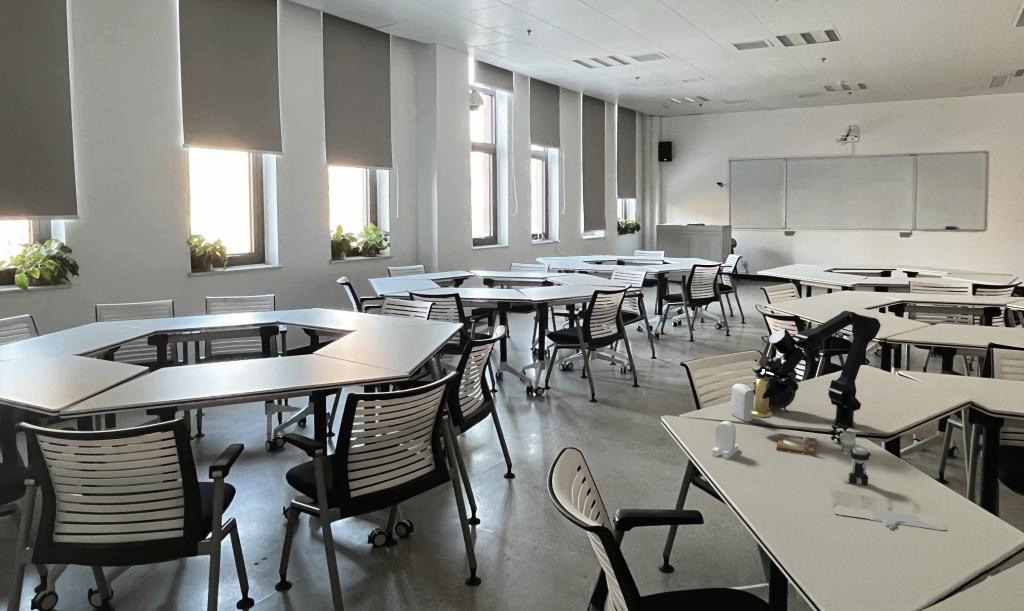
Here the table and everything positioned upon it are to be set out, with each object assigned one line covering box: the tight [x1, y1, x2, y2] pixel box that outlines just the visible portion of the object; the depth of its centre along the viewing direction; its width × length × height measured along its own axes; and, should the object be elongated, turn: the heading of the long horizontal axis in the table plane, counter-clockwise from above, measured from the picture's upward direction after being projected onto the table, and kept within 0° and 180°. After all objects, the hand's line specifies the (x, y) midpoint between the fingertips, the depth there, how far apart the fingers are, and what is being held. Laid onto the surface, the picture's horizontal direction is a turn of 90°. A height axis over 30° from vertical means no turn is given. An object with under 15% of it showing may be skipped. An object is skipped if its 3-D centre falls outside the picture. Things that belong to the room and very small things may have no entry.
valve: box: [828, 423, 857, 455], centre depth 227 cm, size 7×7×12 cm
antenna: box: [848, 506, 944, 531], centre depth 183 cm, size 25×24×1 cm
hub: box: [750, 377, 773, 419], centre depth 241 cm, size 9×7×12 cm
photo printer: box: [730, 383, 755, 422], centre depth 258 cm, size 10×4×12 cm, turn 12°
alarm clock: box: [753, 364, 798, 413], centre depth 265 cm, size 15×7×20 cm, turn 81°
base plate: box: [775, 433, 816, 456], centre depth 229 cm, size 14×11×5 cm
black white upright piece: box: [842, 446, 872, 486], centre depth 199 cm, size 7×5×10 cm
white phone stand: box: [711, 420, 739, 460], centre depth 223 cm, size 5×10×10 cm, turn 145°
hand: (758, 396), depth 239 cm, fingers closed on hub, 4 cm apart
